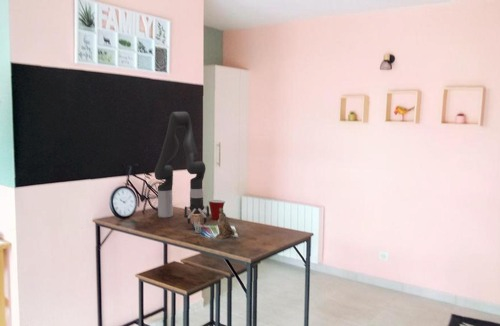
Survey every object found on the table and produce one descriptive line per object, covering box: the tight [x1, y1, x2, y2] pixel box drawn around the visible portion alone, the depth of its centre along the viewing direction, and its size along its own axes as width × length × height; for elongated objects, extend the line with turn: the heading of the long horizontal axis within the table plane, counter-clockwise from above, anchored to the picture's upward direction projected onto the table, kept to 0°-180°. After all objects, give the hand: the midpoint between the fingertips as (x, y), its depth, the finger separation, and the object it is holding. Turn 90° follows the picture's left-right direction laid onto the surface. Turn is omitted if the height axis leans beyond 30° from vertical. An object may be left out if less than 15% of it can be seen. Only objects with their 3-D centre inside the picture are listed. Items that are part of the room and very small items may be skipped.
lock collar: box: [190, 213, 201, 225], centre depth 255 cm, size 3×5×9 cm, turn 101°
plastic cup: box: [208, 199, 226, 221], centre depth 269 cm, size 11×11×12 cm
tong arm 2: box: [196, 218, 202, 234], centre depth 244 cm, size 18×1×4 cm, turn 11°
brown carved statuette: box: [215, 208, 235, 240], centre depth 227 cm, size 12×6×18 cm, turn 143°
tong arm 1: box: [193, 218, 199, 234], centre depth 244 cm, size 18×1×4 cm, turn 11°
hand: (196, 224), depth 245 cm, fingers open, 8 cm apart
